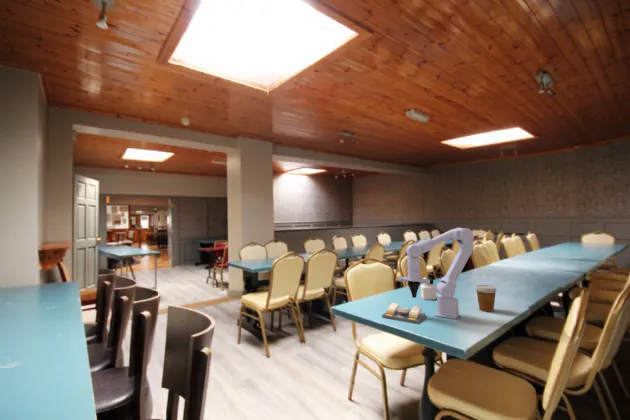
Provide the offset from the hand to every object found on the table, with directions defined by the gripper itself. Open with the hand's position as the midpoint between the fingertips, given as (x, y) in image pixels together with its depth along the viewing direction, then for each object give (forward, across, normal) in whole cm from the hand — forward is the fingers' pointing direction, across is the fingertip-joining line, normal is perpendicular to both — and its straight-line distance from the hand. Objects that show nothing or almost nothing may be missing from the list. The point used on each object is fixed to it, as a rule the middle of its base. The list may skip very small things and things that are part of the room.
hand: (414, 297), depth 153 cm
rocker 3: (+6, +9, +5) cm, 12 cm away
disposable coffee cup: (+9, -29, -26) cm, 40 cm away
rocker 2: (+6, +4, +5) cm, 8 cm away
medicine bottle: (+9, +2, -36) cm, 37 cm away
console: (+9, +4, +5) cm, 11 cm away
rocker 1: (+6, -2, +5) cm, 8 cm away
